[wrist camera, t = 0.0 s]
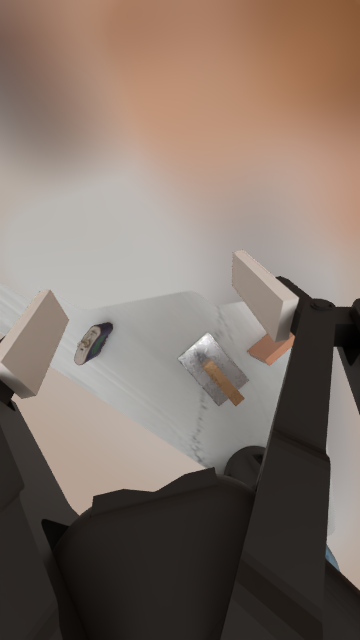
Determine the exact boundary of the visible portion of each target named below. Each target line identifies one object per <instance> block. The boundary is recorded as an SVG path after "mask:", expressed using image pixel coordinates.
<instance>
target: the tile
mask: <svg viewBox="0 0 360 640" xmlns="http://www.w3.org/2000/svg"><path fill="white" fill-rule="evenodd" d="M294 338H295V336H294V335H293V334H292V333H291V332H290V335H289V339H288V340H285V341H280V342H276V343H275V342H274V341H273V339H272V338H271V337H270V335H269V334H266V335H265V336H264V337H263V338H262V339H261V340H259V341H258V342H257V343H256V344H255V345H254V346H252V347H251V348H250V349H249V350H248V351H247V352H248V353H249V354H250V355H251V356H252V357H254V358H256V359H258V360H260V361H262V362H264V363H265V364H267V365H269V366H270V365H271V364H272V363H273V362H274V361H275V360H277V359H278V358H279V357H280V356H281V355H282V354H283V353H285V352H286V351H287V350H288V349H289V348H290V347H292V345H293V341H294Z"/></svg>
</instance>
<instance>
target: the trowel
mask: <svg viewBox="0 0 360 640" xmlns="http://www.w3.org/2000/svg"><path fill="white" fill-rule="evenodd" d="M178 360H179V361H180V362H181V363H182V365H183V366H184V367H185V368H186V369H187V370H188V371H189V373H190V374H191V375H192V376H193V377H194V378H195V379H196V381H197V382H198V383H199V384H200V385H201V386H202V387H203V389H204V390H205V391H206V392H207V393H208V394H209V395H210V396H211V398H212V399H213V400H214V401H215V402H216V403H217V404H218V406H220V405H221V404H222V403H223V402H225V401H226V400H227V399H228V398H229V399H230V400H231V401H232V403H233V404H234V405H235V406H237V405H238V404H239V403H240V402H241V401H242V400H244V399H245V398H244V397H243V396H242V395H241V394H240V392H239V391H238V389H239V388H241V387H242V386H243V385H244V384H245V383H246V382H247V381H249V380H248V379H247V377H246V376H245V375H244V374H243V373H242V372H241V370H240V369H239V368H238V367H237V366H236V365H235V363H234V362H233V361H232V360H231V359H230V358H229V356H228V355H227V354H226V353H225V352H224V351H223V349H222V348H221V347H220V346H219V345H218V344H217V342H216V341H215V340H214V339H213V338H212V337H211V335H210V334H209V333H208V332H207V333H206V334H205V335H204V336H203V337H202V338H201V339H199V340H198V341H197V342H196V343H195V344H194V345H192V346H191V347H190V348H189V349H188V350H187V351H186V352H184V353H183V354H182V355H181V356H180V357H179V358H178Z"/></svg>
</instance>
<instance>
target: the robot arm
mask: <svg viewBox="0 0 360 640" xmlns="http://www.w3.org/2000/svg"><path fill="white" fill-rule="evenodd" d="M232 267H233V268H232V286H233V287H234V289H235V290H236V291H237V293H238V294H239V295H240V297H241V298H242V299H243V301H244V302H245V303H246V305H247V306H248V307H249V309H250V310H251V311H252V313H253V314H254V315H255V317H256V318H257V319H258V321H259V322H260V323H261V325H262V326H263V327H264V329H265V330H266V331H267V333H268V334H269V335H270V337H271V338H272V339H273V341H274V342H275V343H276V342H280V341H285V340H288V339H289V335H290V332H291V333H292V334H293V335H294V336H295V338H294V341H293V345H292V349H291V353H290V357H289V361H288V365H287V369H286V372H285V376H284V380H283V384H282V388H281V392H280V396H279V399H278V403H277V407H276V411H275V415H274V419H273V423H272V426H271V430H270V434H269V438H268V442H267V446H266V449H265V448H262V447H257V446H252V447H247V448H244V449H241V450H240V451H238V452H236V453H235V454H234V455H233V456H232V457H231V458H230V460H229V462H228V463H227V466H226V469H225V475H220V474H216V473H215V468H214V467H213V468H208V469H204V470H200V471H196V472H192V473H188V474H184V475H183V476H181V477H179V478H178V479H176V480H174V481H173V482H171V483H169V484H168V485H166V486H164V487H163V488H161V489H159V490H158V491H155V492H149V491H139V490H128V489H122V490H118V491H113V492H109V493H105V494H101V495H96V496H93V504H92V507H90V508H89V509H88V510H86V511H85V512H84V513H82V514H81V515H80V516H79V515H78V514H77V513H76V512H75V511H74V510H73V509H72V508H71V506H70V505H69V503H68V502H67V500H66V498H65V496H64V494H63V492H62V490H61V488H60V486H59V484H58V483H57V481H56V479H55V477H54V475H53V473H52V471H51V469H50V467H49V466H48V464H47V462H46V460H45V458H44V456H43V455H42V452H41V450H40V449H39V447H38V445H37V443H36V441H35V439H34V437H33V435H32V433H31V431H30V430H29V428H28V426H27V424H26V422H25V420H24V418H23V416H22V415H21V412H20V411H19V409H18V407H17V405H16V403H15V402H14V401H12V400H11V398H12V396H13V394H14V393H15V394H17V395H18V396H19V397H20V398H21V399H23V398H28V397H32V396H36V395H37V393H38V391H39V388H40V386H41V384H42V381H43V379H44V377H45V374H46V372H47V370H48V367H49V365H50V363H51V361H52V358H53V356H54V354H55V351H56V349H57V347H58V344H59V342H60V340H61V338H62V335H63V333H64V331H65V328H66V326H67V324H68V321H69V319H68V317H67V315H66V314H65V312H64V311H63V309H62V307H61V306H60V304H59V303H58V301H57V299H56V298H55V296H54V295H53V293H52V291H51V290H45V291H40V292H39V293H38V294H37V295H36V297H35V298H34V299H33V301H32V302H31V303H30V305H29V306H28V307H27V309H26V310H25V311H24V313H23V314H22V315H21V316H20V318H19V319H18V320H17V322H16V323H15V324H14V326H13V327H12V328H11V330H10V331H9V332H8V334H7V335H6V336H4V337H3V338H2V339H1V340H0V640H360V590H359V589H358V588H356V587H355V586H354V585H353V584H352V583H351V582H350V581H349V580H348V579H347V578H346V577H345V576H344V575H342V573H341V572H340V571H339V567H338V564H337V561H336V559H335V557H334V556H333V554H332V552H331V551H330V549H329V548H328V546H327V544H326V541H327V524H328V507H329V489H330V458H329V457H328V455H327V454H326V439H327V426H328V412H329V400H330V386H331V373H332V361H333V347H337V349H338V352H339V355H340V358H341V361H342V364H343V366H344V370H345V373H346V376H347V379H348V381H349V385H350V388H351V391H352V393H353V396H354V399H355V402H356V405H357V408H358V411H359V414H360V298H359V299H356V300H355V301H354V303H353V305H352V307H335V305H334V304H333V303H332V302H329V301H327V300H323V299H312V298H311V297H310V296H309V295H307V294H306V293H305V292H304V291H302V290H301V289H300V288H298V287H297V286H296V285H294V284H293V283H292V282H291V281H290V280H288V279H286V278H284V277H281V276H279V277H274V276H273V275H272V274H271V273H269V272H268V271H267V270H266V269H265V268H263V267H262V266H261V265H260V264H259V263H258V262H256V261H255V260H254V259H253V258H252V257H251V256H249V255H248V254H247V253H246V252H245V251H244V250H240V251H235V252H233V266H232Z"/></svg>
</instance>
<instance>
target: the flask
mask: <svg viewBox="0 0 360 640" xmlns="http://www.w3.org/2000/svg"><path fill="white" fill-rule="evenodd" d="M112 325H113V324H111V323H108V322H107V323H103V324H99V325H94V326H92V327H91V328H90V329H89V331H88V332H87V333H86V334H85V336H84V337H83V339H82V340H81V342H79V343H78V345H79V346H78V345H77V347H78V349H77V352H76V354H75V357H74V361H75V363H76V364H77V365H83V364H84V363H86V362H87V361H89V360H91V359H92V358H94V357H96V356H98V354H99V353H100V352H101V348H102V347H103V346H104V344H105V342H106V338H108V335H109V334H110V333H111V331H112V329H113V326H112Z"/></svg>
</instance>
